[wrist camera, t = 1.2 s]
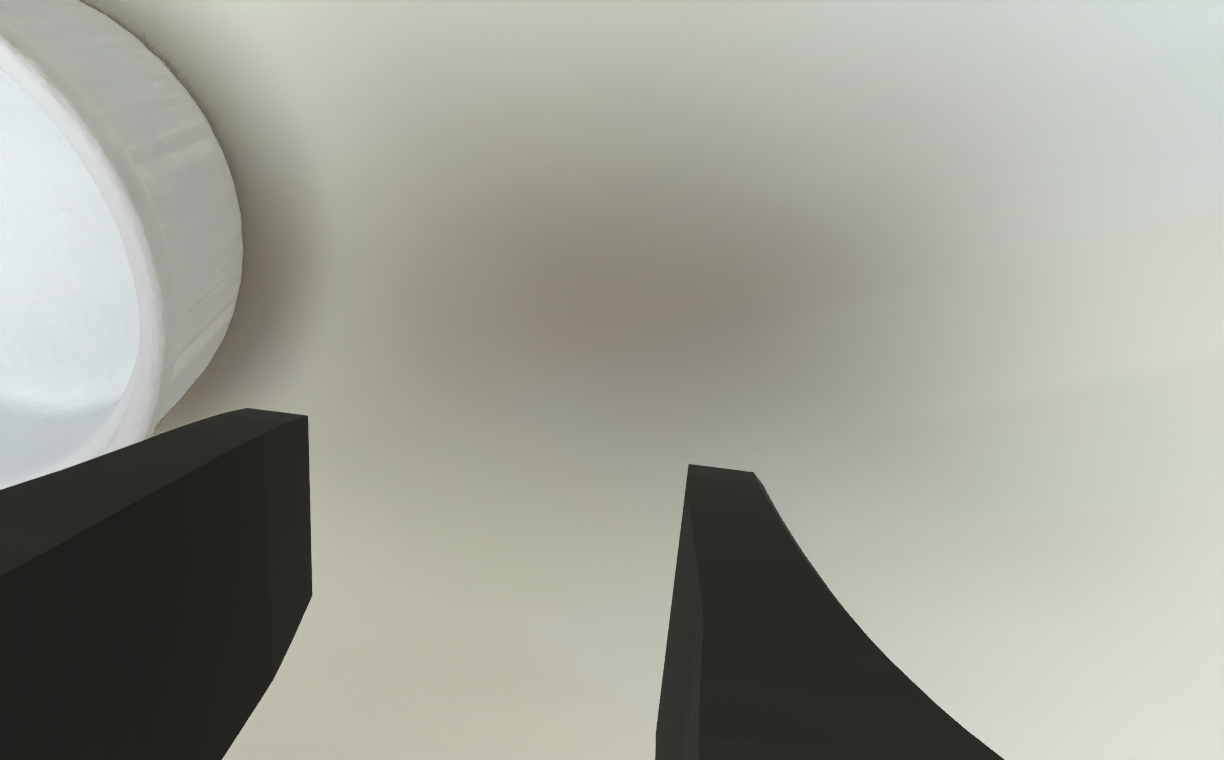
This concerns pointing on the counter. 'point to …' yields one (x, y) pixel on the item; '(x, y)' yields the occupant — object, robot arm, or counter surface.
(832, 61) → the counter surface
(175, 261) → the ramekin
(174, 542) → the robot arm
